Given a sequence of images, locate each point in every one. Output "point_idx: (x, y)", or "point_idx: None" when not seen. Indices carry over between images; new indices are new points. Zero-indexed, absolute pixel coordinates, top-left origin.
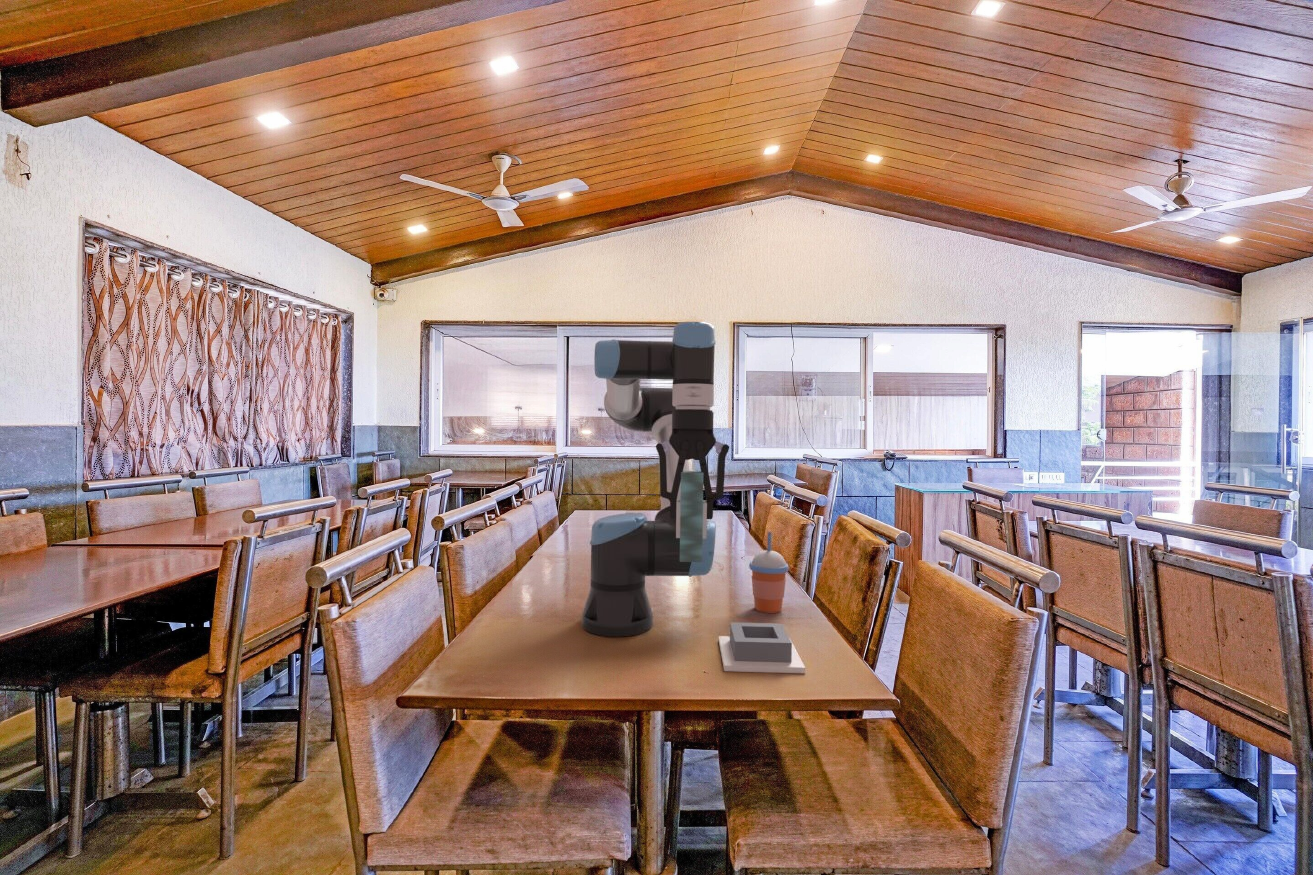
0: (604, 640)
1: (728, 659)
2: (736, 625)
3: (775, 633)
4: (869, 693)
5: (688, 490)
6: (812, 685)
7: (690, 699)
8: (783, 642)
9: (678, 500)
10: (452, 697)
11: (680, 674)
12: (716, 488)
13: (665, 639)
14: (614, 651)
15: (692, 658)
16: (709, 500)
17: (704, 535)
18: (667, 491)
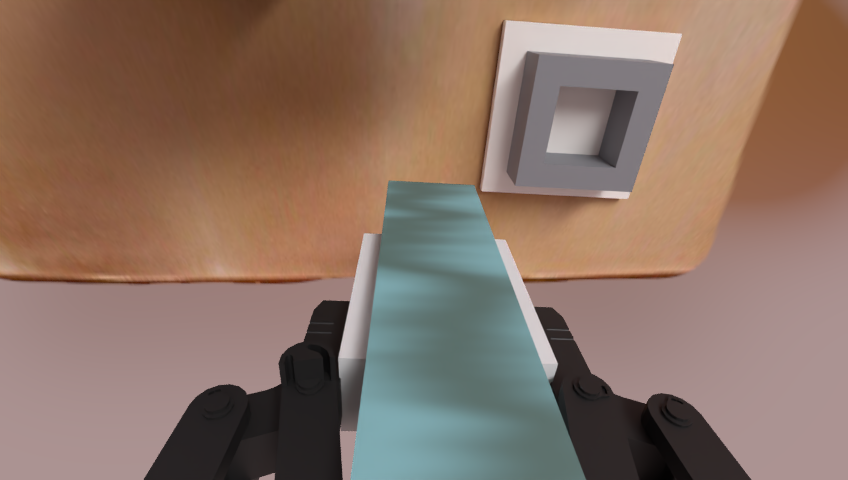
0: (210, 15)
1: (495, 164)
2: (549, 80)
3: (625, 128)
4: (683, 259)
5: None
6: (611, 236)
7: None
8: (615, 189)
9: (353, 374)
10: (50, 278)
11: None
12: (672, 467)
13: (368, 7)
14: (254, 91)
15: (426, 129)
16: None
17: None
18: (251, 459)
